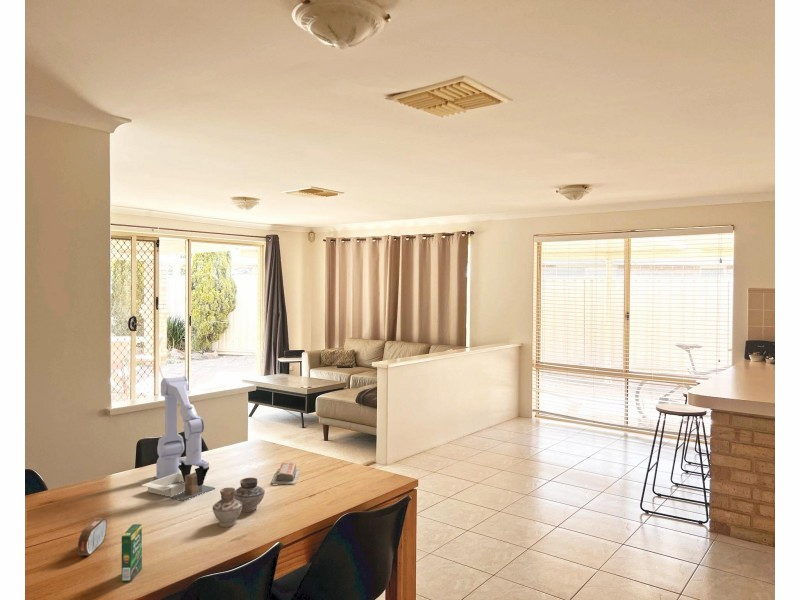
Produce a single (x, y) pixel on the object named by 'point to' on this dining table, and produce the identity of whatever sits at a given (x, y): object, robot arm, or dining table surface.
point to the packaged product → (286, 474)
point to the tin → (92, 536)
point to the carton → (160, 487)
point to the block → (192, 484)
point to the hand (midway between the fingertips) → (193, 483)
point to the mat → (186, 496)
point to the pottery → (237, 501)
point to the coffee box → (131, 552)
